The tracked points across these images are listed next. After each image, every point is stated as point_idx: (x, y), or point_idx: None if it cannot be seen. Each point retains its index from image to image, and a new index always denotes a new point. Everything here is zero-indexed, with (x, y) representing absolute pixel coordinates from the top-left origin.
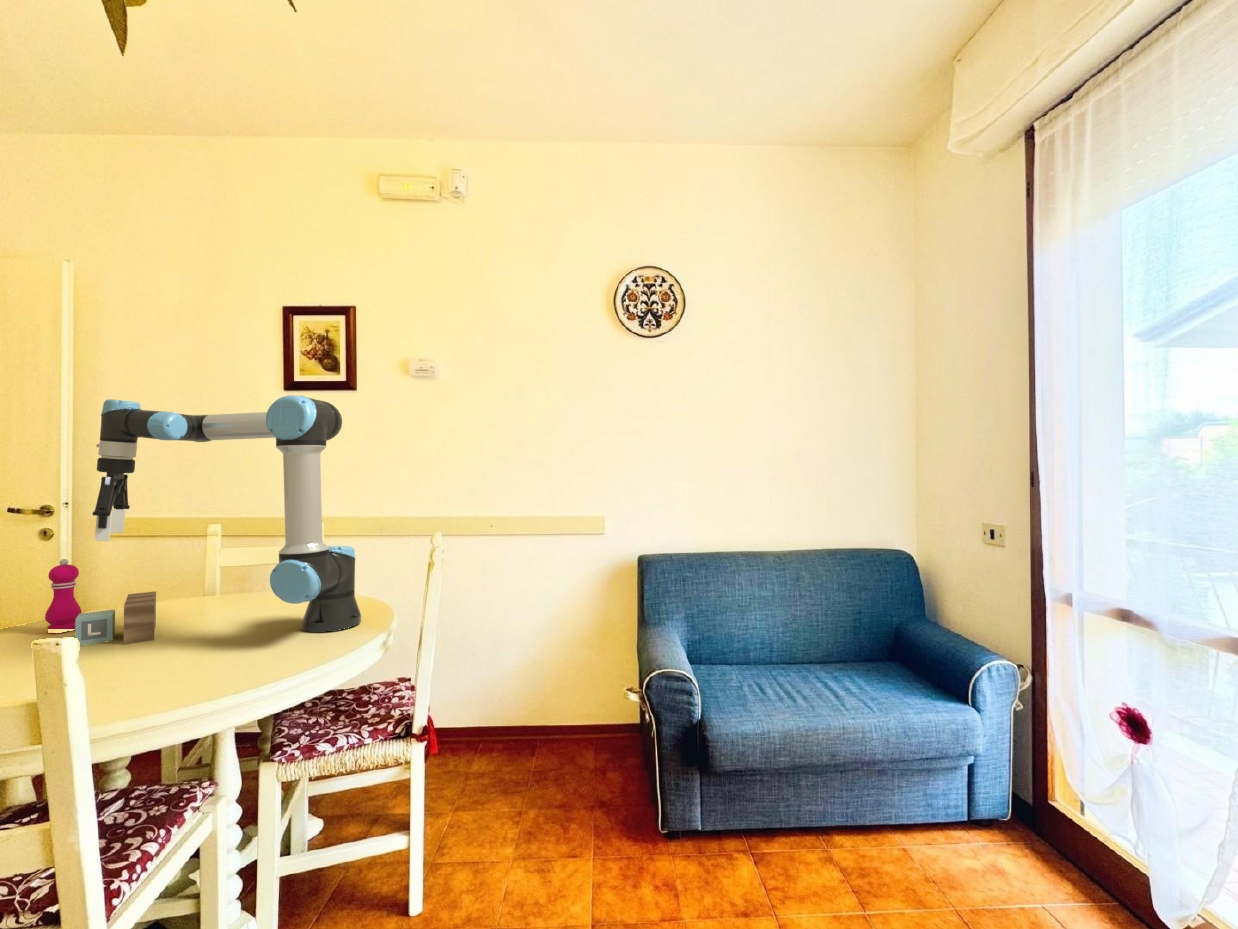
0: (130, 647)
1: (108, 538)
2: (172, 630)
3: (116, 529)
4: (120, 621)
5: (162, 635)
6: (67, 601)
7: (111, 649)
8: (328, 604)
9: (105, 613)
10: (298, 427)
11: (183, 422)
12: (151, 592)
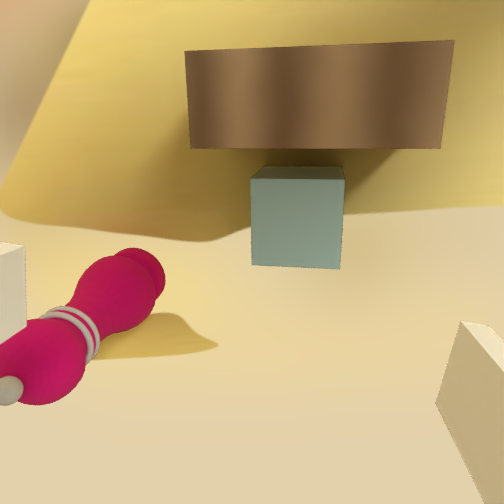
0: (464, 117)
1: (497, 338)
2: (318, 10)
3: (5, 300)
4: (97, 162)
5: (370, 37)
6: (117, 303)
7: (447, 162)
8: None
9: (303, 200)
10: None
11: None
12: (201, 67)
